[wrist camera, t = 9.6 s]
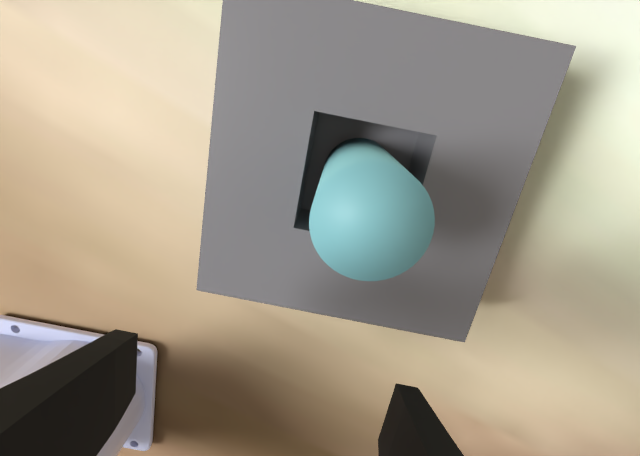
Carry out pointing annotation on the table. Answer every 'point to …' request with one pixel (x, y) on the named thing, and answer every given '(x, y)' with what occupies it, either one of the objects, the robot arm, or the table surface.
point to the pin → (369, 213)
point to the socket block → (375, 124)
